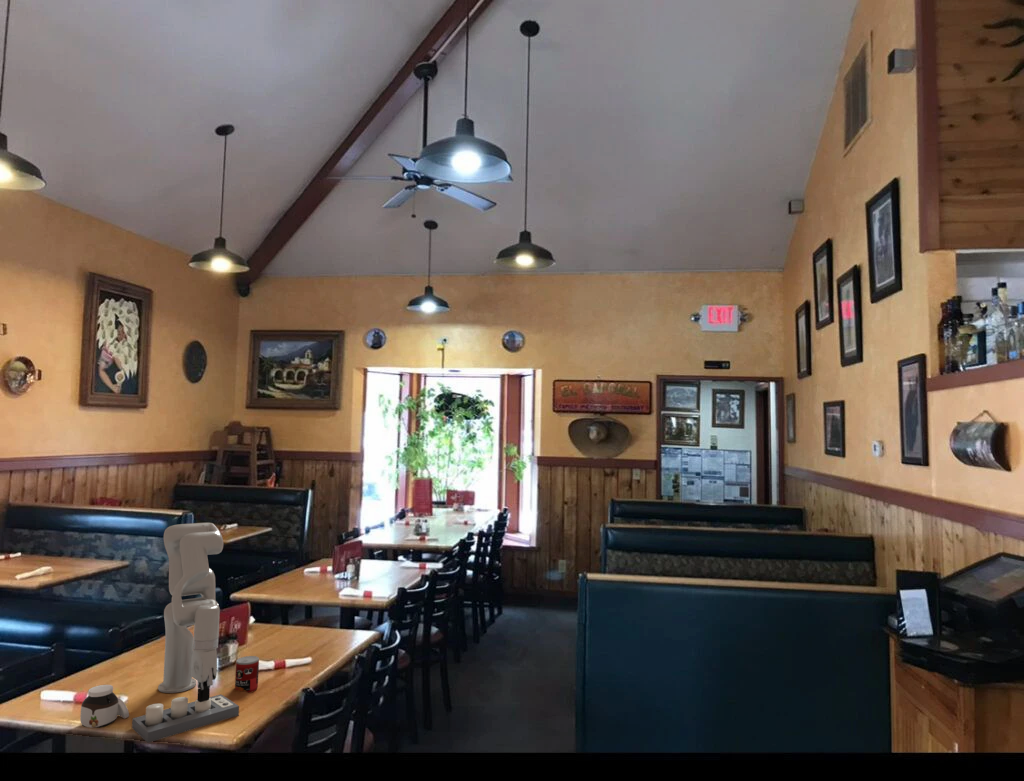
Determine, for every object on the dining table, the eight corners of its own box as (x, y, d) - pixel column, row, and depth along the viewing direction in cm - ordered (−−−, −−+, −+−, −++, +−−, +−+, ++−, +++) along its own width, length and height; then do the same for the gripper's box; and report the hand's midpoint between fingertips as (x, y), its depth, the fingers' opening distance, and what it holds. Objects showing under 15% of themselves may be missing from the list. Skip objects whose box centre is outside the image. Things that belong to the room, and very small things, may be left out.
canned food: (230, 691, 243) (231, 661, 244) (246, 684, 250) (247, 654, 251) (246, 695, 240) (247, 664, 241) (262, 687, 247) (263, 657, 248)
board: (131, 731, 210) (132, 717, 210) (220, 706, 230) (221, 693, 231) (147, 746, 200) (148, 731, 201) (238, 718, 221) (239, 704, 221)
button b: (168, 715, 214) (169, 699, 214) (183, 711, 217) (184, 695, 217) (173, 720, 210) (174, 704, 211) (189, 715, 214) (190, 700, 214)
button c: (142, 722, 208) (143, 706, 208) (159, 718, 212) (160, 702, 212) (148, 727, 205) (149, 711, 205) (164, 723, 208) (165, 706, 209)
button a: (192, 715, 219) (192, 700, 219) (206, 711, 222) (207, 696, 223) (197, 720, 216) (198, 704, 216) (212, 715, 219) (213, 700, 219)
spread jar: (75, 729, 211) (77, 691, 211) (102, 714, 222) (104, 679, 222) (108, 733, 209) (110, 695, 209) (134, 718, 220) (136, 681, 220)
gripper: (185, 641, 223) (182, 697, 222) (203, 651, 213) (200, 710, 211) (208, 636, 228) (205, 691, 227) (226, 646, 218) (224, 703, 217)
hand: (203, 700), depth 219 cm, fingers closed
